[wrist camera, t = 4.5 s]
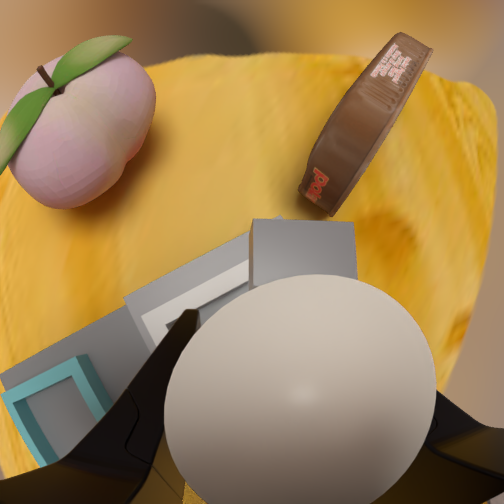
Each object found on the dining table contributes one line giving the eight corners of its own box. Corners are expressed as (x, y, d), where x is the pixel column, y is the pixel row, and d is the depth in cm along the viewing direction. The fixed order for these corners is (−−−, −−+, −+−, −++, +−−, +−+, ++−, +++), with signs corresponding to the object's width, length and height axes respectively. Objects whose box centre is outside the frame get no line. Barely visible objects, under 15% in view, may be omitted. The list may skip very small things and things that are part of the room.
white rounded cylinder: (297, 390, 13) (418, 498, 3) (209, 391, 13) (176, 530, 3) (296, 285, 14) (429, 217, 4) (209, 285, 14) (167, 206, 4)
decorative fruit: (102, 99, 20) (59, 3, 10) (187, 132, 19) (168, 12, 10) (30, 200, 17) (-57, 132, 8) (109, 252, 17) (12, 189, 7)
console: (77, 495, 13) (51, 524, 9) (7, 373, 15) (-34, 380, 10) (352, 374, 17) (387, 388, 12) (272, 231, 18) (286, 204, 14)
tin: (318, 236, 19) (380, 178, 10) (276, 206, 19) (310, 128, 11) (401, 103, 22) (448, 40, 14) (371, 82, 22) (411, 14, 14)
